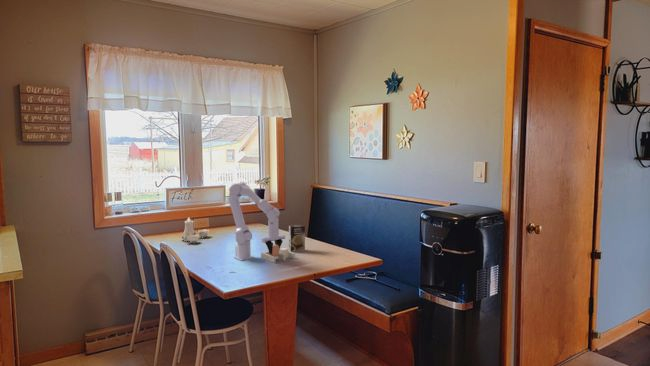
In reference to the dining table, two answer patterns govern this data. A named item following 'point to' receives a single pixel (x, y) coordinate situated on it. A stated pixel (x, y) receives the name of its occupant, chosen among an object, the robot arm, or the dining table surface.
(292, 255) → the slot rack
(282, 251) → the cream block
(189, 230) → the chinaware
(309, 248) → the dining table surface
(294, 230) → the coffee box
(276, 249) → the terracotta block
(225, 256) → the dining table surface
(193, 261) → the dining table surface
